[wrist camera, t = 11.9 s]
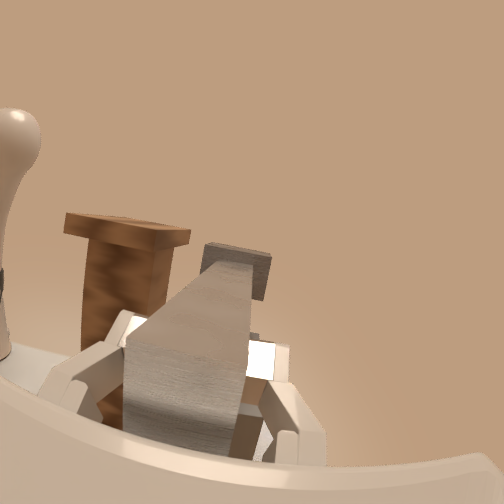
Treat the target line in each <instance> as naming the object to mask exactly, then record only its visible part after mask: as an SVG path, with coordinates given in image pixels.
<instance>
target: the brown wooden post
mask: <svg viewBox="0 0 504 504" xmlns="http://www.w3.org/2000/svg"><path fill="white" fill-rule="evenodd" d="M64 233H67V234H71V235H76V236H80V237H85V238H89V243H88V251H87V259H86V268H85V279H84V289H83V304H82V323H81V352H82V351H83V350H85V349H87V348H89V347H90V346H92V345H94V344H96V343H97V342H99V341H103V342H104V341H105V339H106V337H107V335H108V333H109V331H110V329H111V328H112V326H113V324H114V322H115V320H116V318H117V317H118V315H119V313H120V312H121V311H122V310H127V311H130V312H134V313H138V314H141V315H145V316H148V317H150V316H152V315H153V314H154V313H155V312H156V311H157V310H159V309H160V308H161V307H162V306H163V305H165V303H166V296H167V289H168V283H169V276H170V270H171V263H172V257H173V251H174V247H178V246H182V245H186V244H189V239H190V234H191V230H190V229H184V228H179V227H174V226H168V225H164V224H158V223H153V222H147V221H142V220H136V219H131V218H126V217H114V216H102V215H89V214H76V213H66V218H65V225H64ZM96 404H97V406H98V408H99V410H100V412H101V414H102V416H103V420H102V424H104V425H107V426H110V427H113V428H116V429H119V430H122V431H123V383H122V384H121V385H119V386H118V387H117V388H115V389H114V390H113V391H112V392H110V393H109V394H108V395H107V396H105V397H104V398H103V399H101V400H100V401H99V402H98V403H96Z"/></svg>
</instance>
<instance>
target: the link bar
mask: <svg viewBox="0 0 504 504" xmlns="http://www.w3.org/2000/svg"><path fill="white" fill-rule="evenodd" d="M271 259H272V257H271V255H270V253H266V252H260V251H255V250H250V249H245V248H239V247H235V246H229V245H224V244H219V243H213V242H211V243H208V244H205V247H204V253H203V258H202V264H201V269H200V275H199V276H198V277H197V278H196V279H194V280H193V281H192V282H191V283H190V284H188V285H187V286H186V287H185V288H184V289H182V290H181V291H180V292H179V293H178V294H177V295H175V296H174V297H173V298H172V299H171V300H169V301H168V302H167V303H166V304H165V305H163V306H162V307H161V308H160V309H159V310H157V311H156V312H155V313H154V314H153V315H152V316H150V317H149V318H148V319H147V320H146V321H144V322H143V323H142V324H141V325H140V326H139V327H137V328H136V329H135V330H134V331H133V332H131V333H130V334H129V335H128V336H127V337H126V343H125V358H124V379H123V431H125V432H128V433H131V434H134V435H137V436H140V437H144V438H147V439H151V440H154V441H158V442H161V443H165V444H169V445H173V446H177V447H181V448H185V449H190V450H194V451H199V452H204V453H209V454H214V455H220V456H225V457H228V454H229V450H230V445H231V441H232V437H233V432H234V428H235V423H236V419H237V414H238V410H239V405H240V401H241V396H242V392H243V387H244V383H245V378H246V373H247V369H248V360H249V339H250V318H251V317H250V316H251V299H254V300H260V301H263V299H264V294H265V289H266V284H267V280H268V275H269V269H270V265H271Z"/></svg>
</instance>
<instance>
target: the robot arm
mask: <svg viewBox="0 0 504 504" xmlns="http://www.w3.org/2000/svg"><path fill="white" fill-rule="evenodd" d="M40 146H41V133H40V129H39V126H38V123H37V121H36V120H35V118H34V117H33V116H32V115H31V114H29V113H28V112H26V111H23V110H19V109H14V108H2V109H0V360H1V359H3V358H4V357H6V356H7V355H8V354H9V353H10V351H11V343H10V340H9V329H8V328H7V326H6V318H5V310H4V301H3V296H2V292H3V284H4V274H3V273H4V270H3V268H2V253H3V242H4V233H5V226H6V221H7V217H8V213H9V210H10V207H11V204H12V201H13V199H14V196H15V193H16V191H17V188H18V186H19V184H20V182H21V179H22V178H23V176H24V175H25V173H26V172H27V171H28V170H29V169H30V168H31V167H32V165H33V164H34V162H35V161H36V159H37V157H38V154H39V151H40ZM148 318H149V317H148V316H145V315H141V314H138V313H134V312H130V311H127V310H122V311H121V312H120V313H119V315H118V317H117V318H116V320H115V322H114V324H113V326H112V328H111V329H110V331H109V333H108V335H107V337H106V339H105V341H104V342H103V341H99V342H97V343H96V344H94V345H92V346H90V347H89V348H87V349H85V350H83V351H82V352H80V353H78V354H76V355H75V356H73V357H71V358H69V359H68V360H66V361H64V362H62V363H61V364H59V365H57V366H55V367H54V368H52V369H51V371H50V373H49V374H48V376H47V378H46V380H45V382H44V383H43V385H42V387H41V389H40V391H39V393H38V395H37V396H36V395H34V394H32V393H30V392H29V391H27V390H25V389H23V388H21V387H19V386H17V385H15V384H14V383H12V382H10V381H8V380H6V379H5V378H3V377H1V376H0V504H504V474H503V472H502V471H501V470H500V469H499V468H498V467H497V466H496V465H495V464H494V463H493V462H492V461H491V460H490V459H489V458H488V457H487V456H486V455H484V454H483V453H481V452H475V453H470V454H465V455H461V456H455V457H450V458H444V459H437V460H430V461H424V462H415V463H405V464H394V465H379V466H355V467H354V466H350V467H333V466H331V467H330V466H328V467H327V441H326V440H327V438H326V437H327V436H326V432H325V430H324V429H323V427H322V426H321V424H320V423H319V422H318V420H317V419H316V417H315V416H314V414H313V413H312V411H311V410H310V408H309V407H308V405H307V404H306V402H305V401H304V399H303V398H302V397H301V395H300V393H299V392H298V390H297V389H296V387H295V386H294V384H293V383H289V363H290V361H289V360H290V346H289V345H287V344H281V343H274V342H270V341H263V340H258V339H252V338H250V339H249V360H248V369H247V373H246V378H245V383H244V387H243V392H242V396H241V401H240V402H241V403H246V404H251V405H257V406H258V408H259V410H260V412H261V414H262V416H263V419H264V421H265V423H266V425H267V427H268V429H269V431H270V433H271V435H272V437H273V439H274V440H273V441H272V443H271V444H270V446H269V447H268V449H267V450H266V452H265V453H264V455H263V458H262V462H259V461H252V460H244V459H238V458H231V457H225V456H220V455H214V454H209V453H204V452H199V451H194V450H190V449H185V448H181V447H177V446H173V445H169V444H165V443H161V442H158V441H154V440H150V439H147V438H144V437H140V436H137V435H134V434H131V433H127V432H124V431H121V430H118V429H115V428H113V427H110V426H107V425H104V424H101V423H102V420H103V416H102V414H101V412H100V410H99V408H98V406H97V404H96V403H98V402H99V401H100V400H101V399H103V398H104V397H105V396H107V395H108V394H109V393H110V392H112V391H113V390H114V389H115V388H117V387H118V386H119V385H121V384H122V383H123V379H124V358H125V343H126V337H127V336H128V335H129V334H130V333H131V332H133V331H134V330H135V329H136V328H137V327H139V326H140V325H141V324H142V323H143V322H144V321H146V320H147V319H148Z"/></svg>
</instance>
